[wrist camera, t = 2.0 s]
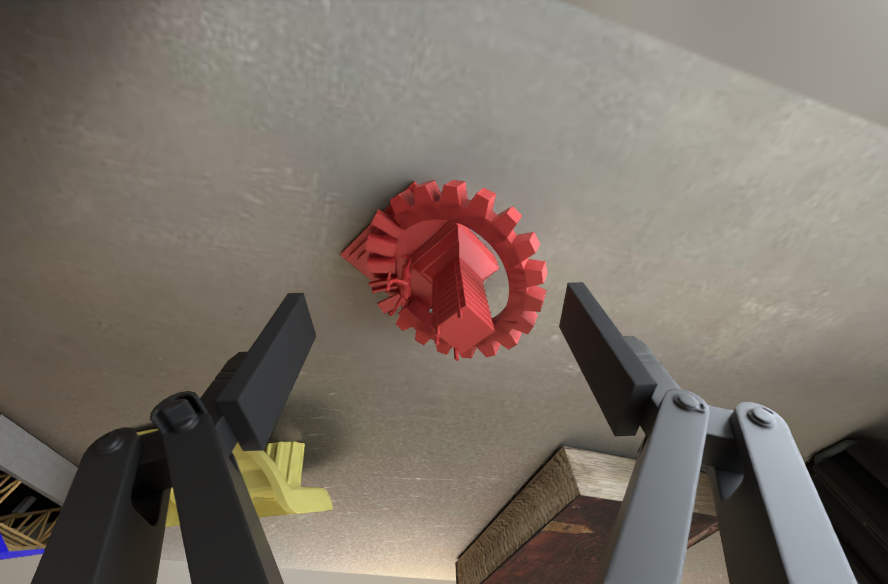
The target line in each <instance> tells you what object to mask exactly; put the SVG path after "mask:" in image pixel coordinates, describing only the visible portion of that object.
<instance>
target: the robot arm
mask: <svg viewBox="0 0 888 584" xmlns="http://www.w3.org/2000/svg"><path fill="white" fill-rule="evenodd" d="M559 327H560V329H561V331H562V333H563V335H564V337H565V339H566V341H567V343H568V345H569V347H570V349H571V351H572V353H573V355H574V357H575V359H576V361H577V363H578V365H579V367H580V369H581V371H582V373H583V375H584V377H585V379H586V381H587V382H588V384H589V386H590V388H591V390H592V392H593V394H594V396H595V398H596V400H597V402H598V404H599V406H600V408H601V410H602V412H603V414H604V416H605V418H606V420H607V422H608V424H609V426H610V428H611V430H612V432H613V434H614V436H635V435H636V433H637V430H638V428H639V426H641V428H642V430H643V431H644V433H645V437H644V439H643V441H642V443H641V446H640V448H639V450H638V453H639V454H638V457H637V460H636V462H635V465H634V468H633V471H632V474H631V477H630V480H629V483H628V486H627V489H626V492H625V495H624V498H623V501H622V504H621V507H620V510H619V512H618V515H617V518H616V521H615V524H614V527H613V530H612V533H611V536H610V539H609V542H608V545H607V548H606V551H605V554H604V557H603V560H602V563H601V565H600V568H599V571H598V574H597V577H596V580H595V583H594V584H680V583H681V578H682V572H683V566H684V560H685V554H686V549H687V543H688V537H689V531H690V525H691V520H692V514H693V508H694V502H695V496H696V491H697V485H698V479H699V473H700V467H701V464H704V465H707V468H708V473H709V478H710V483H711V489H712V494H713V499H714V504H715V510H716V515H717V520H718V525H719V530H720V536H721V541H722V546H723V551H724V556H725V562H726V567H727V572H728V577H729V583H730V584H858V583H857V581H856V579H855V577H854V574H853V572H852V570H851V568H850V565H849V563H848V561H847V559H846V556H845V554H844V552H843V549H842V547H841V545H840V543H839V540H838V538H837V536H836V534H835V531H834V529H833V527H832V525H831V522H830V520H829V518H828V516H827V513H826V511H825V509H824V507H823V504H822V502H821V500H820V497H819V495H818V493H817V491H816V488H815V486H814V484H813V482H812V479H811V477H810V475H809V473H808V470H807V468H806V466H805V464H804V461H803V459H802V457H801V455H800V452H799V450H798V448H797V445H796V443H795V441H794V439H793V436H792V434H791V432H790V430H789V427H788V425H787V424H786V422H785V421H784V420H783V418H782V417H780V416H779V415H778V414H777V413H776V412H774V411H772V410H771V409H769V408H767V407H765V406H762V405H760V404H757V403H752V402H742V403H739V404H738V405H737V406H736V408H735V409H734V411H733V410H728V409H723V408H719V407H714V406H710V405H707V404H706V402H705V401H704V400H703V399H702V398H700V397H699V396H698V395H696V394H694V393H692V392H690V391H688V390H684V389H681V388H680V387H679V386H678V385H677V383H676V382H675V381H674V380H673V378H672V377H671V376H670V375H669V373H668V372H667V371H666V370H665V368H664V367H663V366H662V365H661V363H660V362H658V360H657V358H656V357H655V356H654V355H652V352H651V351H650V350H649V348H648V347H647V346H646V345H645V344H644V343H643V342H642V341H640V340H639V339H637V338H636V337H634V336H622V335H621V333H620V332H619V330H618V329H617V328H616V326H615V325H614V324H613V322H612V321H611V320H610V318H609V317H608V316H607V314H606V313H605V312H604V310H603V309H602V307H601V306H600V305H599V303H598V302H597V301H596V299H595V298H594V297H593V295H592V294H591V293H590V291H589V290H588V288H587V287H586V286H585V284H584V283H583V282H579V283H568V284H567V289H566V294H565V299H564V304H563V310H562V315H561V320H560V325H559ZM315 338H316V333H315V330H314V327H313V323H312V320H311V317H310V313H309V310H308V306H307V303H306V300H305V296H304V293H288V294H287V296H286V297H285V299H284V300H283V301H282V303H281V304H280V306H279V307H278V309H277V310H276V312H275V313H274V315H273V316H272V318H271V319H270V320H269V322H268V323H267V325H266V326H265V328H264V329H263V331H262V332H261V334H260V335H259V337H258V338H257V339H256V341H255V342H254V344H253V345H252V347H251V348H250V350H249V351H248V352H238V353H237V354H236V355H235V356H233V357H232V358H231V359H229V360H228V361H227V363H226V364H225V365H224V367H223V368H222V369H221V372H219V374H218V375H217V376H216V378H215V380H213V382H212V383H211V384H210V386H209V387H208V388H207V390H206V391H205V393H204V394H203V395H202V397H201V398H199V397H198V395H197V394H196V393H195V392H190V391H186V392H180V393H177V394H174V395H171V396H170V397H168V398H166V399H164V400H163V401H161V402H160V403H159V404H158V405H157V406H156V407H155V408H154V409H153V411H152V412H151V415H150V420H151V421H152V422H153V424H154V425H155V426H156V428H157V429H158V430H156V431H152V432H149V433H145V434H142V435H138V433H137V432H136V431H135V430H134V429H132V428H126V427H124V428H120V429H116V430H113V431H111V432H109V433H107V434H105V435H103V436H102V437H100V438H99V439H97V440H96V441H95V442H94V443H93V444H91V445H90V446H89V447H88V449H87V450H86V452H85V453H84V455H83V457H82V460H81V462H80V465H79V467H78V470H77V472H76V474H75V477H74V479H73V482H72V484H71V487H70V489H69V491H68V494H67V496H66V499H65V501H64V504H63V506H62V509H61V511H60V513H59V516H58V518H57V521H56V523H55V526H54V528H53V531H52V533H51V535H50V538H49V540H48V543H47V545H46V548H45V550H44V553H43V555H42V558H41V560H40V562H39V565H38V567H37V570H36V572H35V575H34V577H33V579H32V582H31V584H156V582H157V576H158V569H159V563H160V557H161V550H162V544H163V538H164V531H165V525H166V519H167V512H168V506H169V500H170V493H171V488H172V487H173V492H174V497H175V502H176V507H177V512H178V517H179V522H180V527H181V533H182V538H183V543H184V548H185V553H186V558H187V563H188V568H189V573H190V578H191V583H192V584H284V582H283V580H282V577H281V575H280V572H279V569H278V567H277V564H276V562H275V559H274V556H273V554H272V551H271V549H270V546H269V544H268V541H267V538H266V536H265V533H264V531H263V528H262V525H261V523H260V520H259V518H258V515H257V512H256V510H255V507H254V505H253V502H252V499H251V497H250V494H249V492H248V489H247V486H246V484H245V481H244V479H243V476H242V474H241V471H240V468H239V466H238V463H237V461H236V458H235V456H234V454H233V453H232V451H233V449H234V447H235V446H236V444H237V442H238V444H239V445H240V447H241V449H242V450H243V451H264V449H265V447H266V444H267V442H268V440H269V438H270V436H271V433H272V431H273V429H274V427H275V425H276V423H277V420H278V418H279V416H280V414H281V412H282V410H283V407H284V405H285V403H286V401H287V399H288V396H289V394H290V392H291V390H292V388H293V386H294V383H295V381H296V379H297V377H298V375H299V373H300V370H301V368H302V366H303V364H304V362H305V360H306V357H307V355H308V353H309V351H310V349H311V346H312V344H313V342H314V340H315Z"/></svg>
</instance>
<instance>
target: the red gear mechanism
mask: <svg viewBox="0 0 888 584" xmlns="http://www.w3.org/2000/svg"><path fill="white" fill-rule="evenodd" d="M495 195H496V194H495V193H493V192H491V191H489V190H487V189H485V188H483V189H482V190H480V191H479V192H478V193H477V194H476V195H475V196H474V198H473V199H472V200H468V199H467V192H466V184H465V182H463V181H457V180H452V181H450V182H448V183H447V184H445V185H444V186H443V190H442V194H441V192H440V190H439V188H438V186H437V184H436V182H435V181H430V182H425V183H422V184H420V185H417V184H416V183H415V182H414V181H413V182H412V183H411V184H410V185H409V186H408V187H407V188H406V189H405V190H404V191H403V192H402V193H400V194H398V195H397V196H395V197H394V198H392V199H391V200H390V203H391V204H390V205H389V206H388V207H387V208H386V209H385V210H384V211H383V212H382V211H380V210H379V209H378V211H377V212H376V214H375V216H374V218H373V221H372V223H371V224H370V225H369V226H368V227H367V228H366V229H365V230H364V231H363V232H362V233H361V234H360V235H359V236H358V237H357V238H356V239H355V240H354V241H353V242H352V243H351V244H350V245H349V246H348V247H347V248H346V249H345V250H344V251H343V252H342V253H341V254H340V256H342V257H343V258H344V259H345V260H347V261H348V262H349V263H350V264H352V265H353V266H354V267H355V268H356V269H358V270H359V271H360V272H361V273H363V274H364V275H365V276H366V277H368V278H369V279H370V280H371V282H369V286H371V287H372V293H376V292H381V291H385V292H386V293H387V294H388V295H390V297H388V298H386V299H384V300H382V301H380V302H378V303H377V305H378V306H379V308H380V309H381V310H382V311H383V313H387V312H389V314H388V315H390V316H392V315H393V314H394V313H395V311H396V310H397V309H398V307H400V306H402V309H401V310H400V311H399V312H398V314H399V315H400V316H399V318H398V320H397V322H396V325H397V326H398V327H399V328H400V329H401V330H402V331H404V330H406V329H408V328H410V327H413V328H414V329H415V330H416V336H415V340H416V341H417V342H419V343H421V344H422V345H425V344H426V342H427V341H428V340H429V339H432V340H435V344H436V347H437V351H438V352H440V353H443V354H446V355H447V354H448V352H449V351H450V349H451V348H452V347H453V348H454V358H455V360H456V361H458V360H459V357H458V352H459V354H460V355H461V357H462V358H472V356H473V354H474V352H475V350H476V349H477V348H478V349H479V350H480V351H481V352H482V353H483V354H484V355H485V357H489V356H493V355H496V353H497V350H498V348H499V346H500V344H501V345H503V346H504V347H506V348H507V349H511V348H512V347H514V346H515V345H517V343H518V340H519V338H520V335H521V332H523V333H525V334H528V333H529V332H530V331H531V329H532V328H533V327H534V324H535V321H536V318H537V314H536V313H535V312H540V311H541V308H542V305H543V302H544V298H545V294H546V290H544V289H542V288H540V287H538V286H536V285H540V284H543V283H544V281H545V278H546V275H547V269H546V262H545V261H538V260H530V259H528V257H530V256H531V255H533V254H534V253H536V251H537V249H538V247H539V244H540V243H539V241H538V239H537V237H536V235H535V233H534V232H532V233H526V234H521V235H516V234H515V232H514V231H513V229H514V227H515V226H516V224H517V223H518V221H519V220H520V218H521V217H522V215H521V214H520V213H519V212H518V211H517V210H516V209H515V208H514V207H513V206H512V207H510V208H508V209H507V210H505V211H504V212H502V213H500V214H499V215H497V214H496V213H494V212H493V211H492V210H493V205H494V200H495ZM467 227H468V228H470V229H471V230H473V231H475V232H476V233H478V234H479V235H480V236H482V237H483V238H484V239H485V240H486V241H487V242H488V243H489V244H490V245H491V246H492V247H493V248H494V250H495V251H496V252H497V254H498V255H499V257H500V259H501V260H502V262H503V265H504V267H505V269H506V272H507V276H508V281H509V298H508V303H507V306H506V307H505V308H504V309H503V311H502V312H500V313H499V314H498V315H497V316H495V317H494V318H491V315H490V313H491V312H490V311H489V306H488V303H487V302H488V301H487V298H486V297H487V296H486V294H485V290H484V286H483V281H484V280H485V279H486V278H487V277H489V276H490V275H491V274H493V273H494V272H495V271H497V270H498V269H499V267H498V264H497V261H496V258H495V256H494V255H493V254H492V253H491V252H490V251H489V250H488V249H487V248H486V247H485V246H484V245H483V243H482V242H481V241H480V240H479V239H478V238H477V237H476V236H475V235H474V234H473V233H472V232H471V231H470V230H469V229H468V228H467ZM431 308H432V313H430V312H429V311H428V310H429V309H431ZM393 309H394V310H393ZM534 311H535V312H534Z"/></svg>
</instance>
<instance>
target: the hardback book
mask: <svg viewBox="0 0 888 584" xmlns="http://www.w3.org/2000/svg"><path fill="white" fill-rule="evenodd" d="M635 462H636V460H635V459H630V458H625V457H620V456H614V455H609V454H604V453H599V452H593V451H588V450H583V449H578V448H572V447H567V446H563V447H562V448H561V449H560V450H559V451H558V452H557V453H556V454H555V455H554V457H553V458H552V459H551V460H550V461H549V462H548V463H547V464H546V465H545V466H544V467H543V468H542V470H541V471H540V472H539V473H538V474H537V475H536V476H535V477H534V478H533V479H532V480H531V481H530V483H529V484H528V485H527V486H526V487H525V488H524V489H523V490H522V491H521V492H520V493H519V494H518V496H517V497H516V498H515V499H514V500H513V501H512V502H511V503H510V504H509V505H508V506H507V507H506V509H505V510H504V511H503V512H502V513H501V514H500V515H499V516H498V517H497V518H496V519H495V520H494V522H493V523H492V524H491V525H490V526H489V527H488V528H487V529H486V530H485V531H484V532H483V533H482V535H481V536H480V537H479V538H478V539H477V540H476V541H475V542H474V543H473V544H472V545H471V546H470V548H469V549H468V550H467V551H466V552H465V553H464V554H463V555H462V556H461V557H460V558H459V559H458V561H457V562H456V584H594V583H595V580H596V577H597V574H598V571H599V568H600V565H601V563H602V560H603V557H604V554H605V551H606V548H607V545H608V542H609V539H610V536H611V533H612V530H613V527H614V524H615V521H616V518H617V515H618V512H619V510H620V507H621V504H622V501H623V498H624V495H625V492H626V489H627V486H628V483H629V480H630V477H631V474H632V471H633V468H634V465H635ZM717 531H719V525H718V520H717V515H716V510H715V504H714V499H713V494H712V489H711V483H710V478H709V476H708V475H707V473H703V472H700V473H699V479H698V485H697V491H696V496H695V502H694V508H693V514H692V520H691V525H690V531H689V537H688V543H687V549H688V548H690V547H691V546H693V545H695V544H696V543H698V542H700V541H702V540H703V539H705V538H707V537H708V536H710V535H712V534H713V533H715V532H717Z"/></svg>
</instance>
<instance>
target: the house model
mask: <svg viewBox="0 0 888 584" xmlns="http://www.w3.org/2000/svg"><path fill="white" fill-rule="evenodd" d="M0 470H2V471H4V472H5V473H6V474H0V478H3V477H5V478H4V479H3V480H2V481H1V482H0V487H1V486H2V485H3V484H4V483H5V482H6V481H7V480H8V479H9V478H10V477H11V476H12V477H14V478H15V479H16V480H14V481H13V482H12V483H10V484H9V485H7V486H6V487H4V488H3V489H2V490H0V494H1V493H3V492H4V491H6V490H7V489H8V488H10V487H11V486H13V485H14V484H15V485H14V486H13V487H12V488H11V489H10V490H9V491H8V492H6V493H5V494H4V495H3V496H2V497H1V498H0V503H1V502H2V501H3V500H4V499H5V498H6V497H7V496H8V495H9V494H10V493H11V492H12V491H13V490H14V489H15V488H16V487H17V486H18V485H19V484H20V483H21V482H22V483H24V484H25V485H27V486H29V487H30V488H32V489H34V490H35V491H37V492H39V493H40V494H42V495H44V496H45V497H47V498H49V499H50V500H52V501H54V502H55V503H57V504H59V505H60V506H63V504H64V501H65V499H66V496H67V494H68V491H69V489H70V487H71V484H72V482H73V479H74V477H75V474H76V472H77V470H78V467H76V466H75V465H73V464H72V463H71V462H69V461H68V460H66V459H65V458H63V457H62V456H60V455H59V454H58V453H56V452H55V451H53V450H52V449H50V448H49V447H48V446H46V445H45V444H43V443H42V442H40V441H39V440H38V439H36V438H35V437H33V436H32V435H30V434H29V433H27V432H26V431H25V430H23V429H22V428H20V427H19V426H17V425H16V424H15V423H13V422H12V421H10V420H9V419H7V418H6V417H4V416H3V415H2V414H1V415H0ZM35 500H36V498H34V497H33V496H30V497H25V499H24V500H23V501H22V502H21V503H20V504H19V505H18V506H17V507H16V508H15V509H14V510H13V511H12V512H11V513H12V514H11V515H6V516H0V521H4V522H3V523H0V560H3V559H10V558H17V557H24V556H32V555H39V554H43V553H44V550H45V548H46V545H47V543H48V540H49V538H50V535H51V533H52V531H53V528H54V526H55V523H56V521H57V518H58V517H57V518H56V519H55V520H54V522H51V523H47V520H48V518H49V516H50V513H51V512H55V511H61V509H62V507H59V508H53V509H46V510H40V511H33V512H26V513H24V512H25V511H26V510H27V509H28V508H29V507H30V506H31V504H32V503H33V502H34V501H35ZM42 513H44V514H42ZM35 514H42V515H41V516H40V517H39V518H37V519H36V520H35V521H33V522H32V523H31V524H30V525H28V526H24V527H22V526H23V525H24V524H25V523H26V522H27V521H28V520H29V519H30V517H31V516H32V515H35ZM25 517H27V518H26V519H25V520H24V521H23V522H22V523H21V524H20V525H19V526H18V527H17V528H11V526H12V524H13V522H14V520H15V519H20V518H25ZM43 520H44V521H43ZM42 521H43V523H42V524H40V523H41V522H42ZM35 523H36V524H35ZM34 524H35V525H34Z"/></svg>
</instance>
